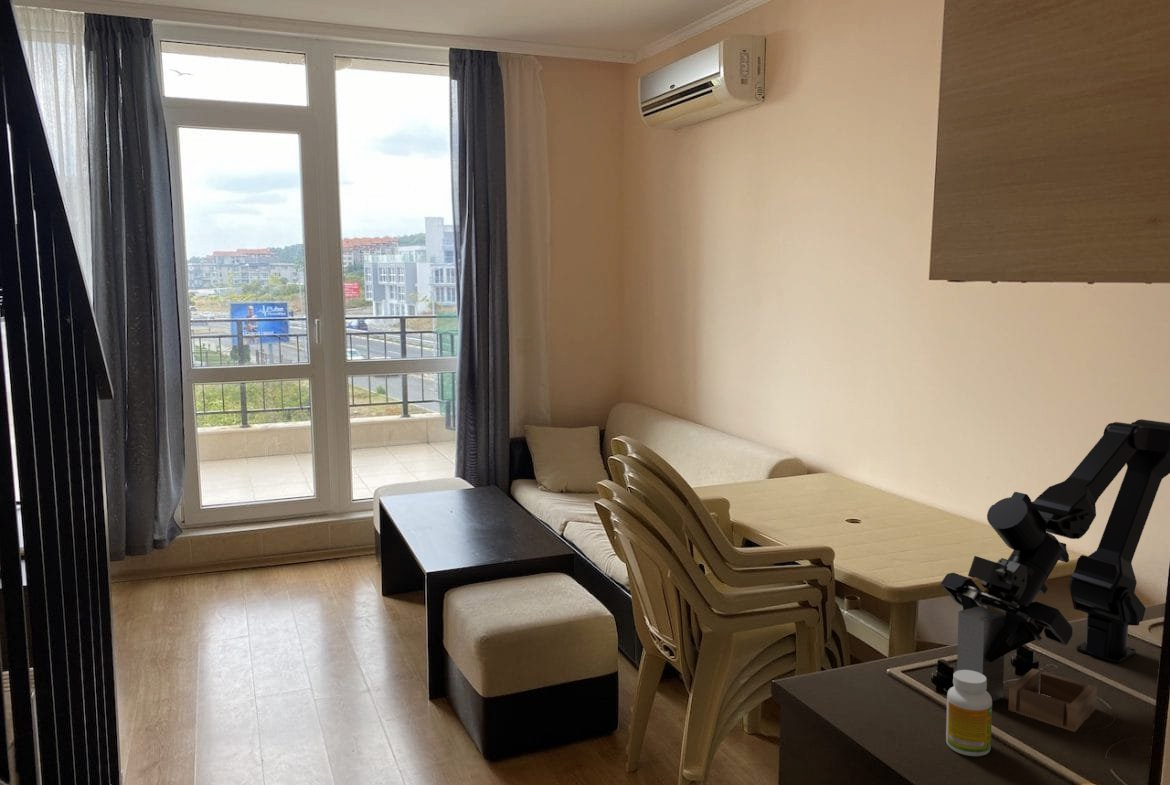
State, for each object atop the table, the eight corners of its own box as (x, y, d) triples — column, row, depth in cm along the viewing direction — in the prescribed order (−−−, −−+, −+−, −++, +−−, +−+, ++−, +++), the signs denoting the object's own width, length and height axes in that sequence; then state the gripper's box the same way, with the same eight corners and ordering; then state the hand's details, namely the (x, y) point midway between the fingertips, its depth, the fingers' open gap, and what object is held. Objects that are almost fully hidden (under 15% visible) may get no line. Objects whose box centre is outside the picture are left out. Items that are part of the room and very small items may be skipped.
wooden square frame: (1031, 691, 129) (1032, 668, 129) (1095, 711, 123) (1097, 687, 122) (1008, 712, 123) (1009, 687, 123) (1074, 734, 117) (1075, 708, 117)
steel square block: (977, 685, 131) (979, 605, 129) (1002, 697, 127) (1005, 615, 125) (956, 692, 129) (958, 611, 127) (981, 705, 125) (984, 621, 123)
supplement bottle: (995, 759, 111) (997, 687, 110) (950, 755, 112) (952, 684, 111) (985, 737, 116) (987, 668, 115) (942, 734, 117) (943, 665, 116)
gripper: (950, 521, 135) (896, 603, 131) (1062, 553, 118) (1004, 648, 115) (984, 562, 139) (933, 642, 136) (1097, 598, 123) (1041, 691, 119)
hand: (973, 654), depth 126 cm, fingers closed on steel square block, 4 cm apart
